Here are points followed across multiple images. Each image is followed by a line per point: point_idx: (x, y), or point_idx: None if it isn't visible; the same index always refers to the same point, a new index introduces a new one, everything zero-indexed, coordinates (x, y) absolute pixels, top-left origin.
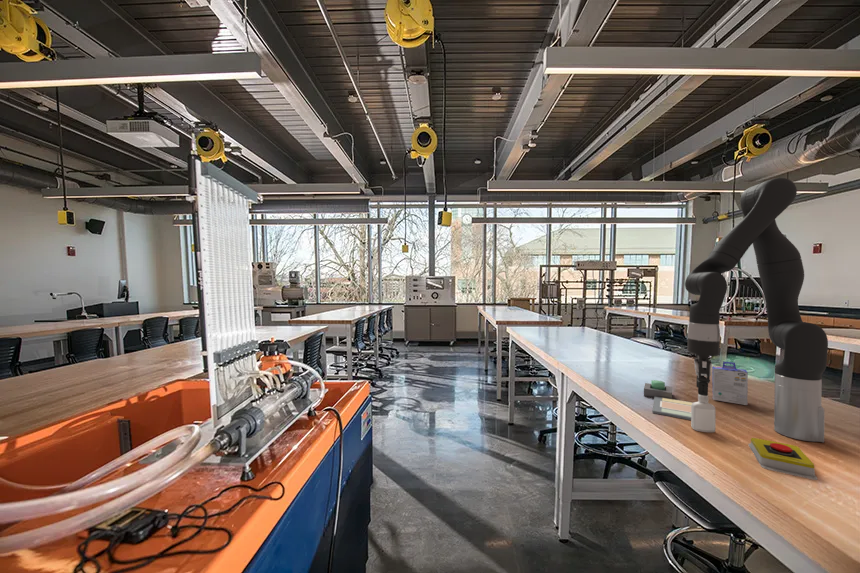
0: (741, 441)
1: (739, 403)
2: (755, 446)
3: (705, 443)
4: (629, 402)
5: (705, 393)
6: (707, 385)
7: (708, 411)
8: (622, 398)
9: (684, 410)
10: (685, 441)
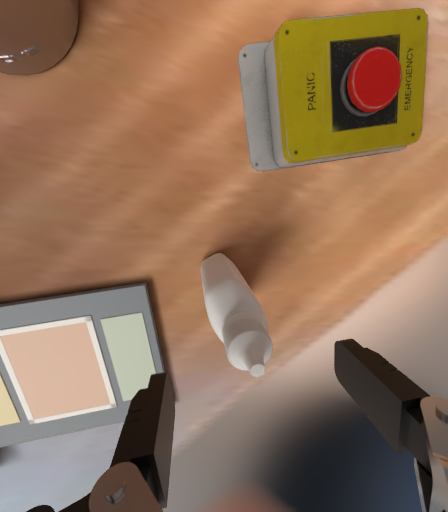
0: (246, 187)
1: None
2: (350, 153)
3: (326, 265)
4: None
5: (370, 353)
6: (403, 386)
7: (253, 293)
8: None
9: (84, 349)
10: (342, 302)
